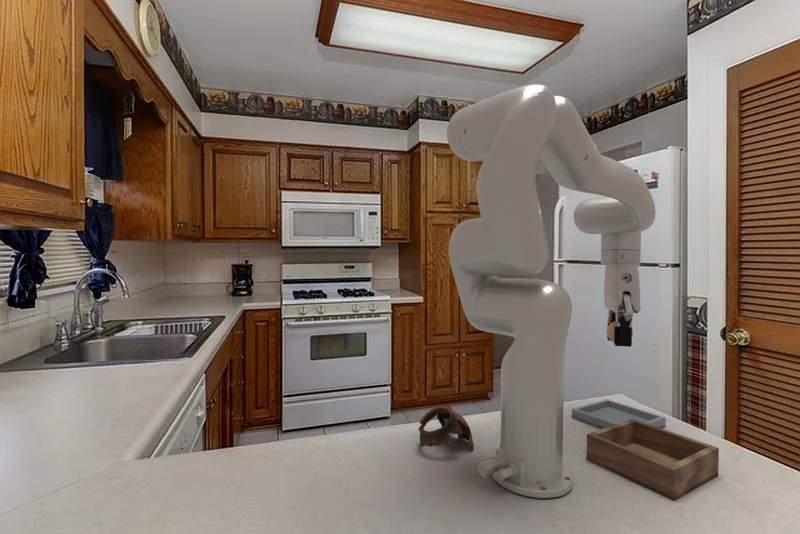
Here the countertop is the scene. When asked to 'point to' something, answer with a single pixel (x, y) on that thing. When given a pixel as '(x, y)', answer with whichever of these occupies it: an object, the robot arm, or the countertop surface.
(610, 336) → the ball
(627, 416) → the tray
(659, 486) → the bin
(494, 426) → the countertop surface
